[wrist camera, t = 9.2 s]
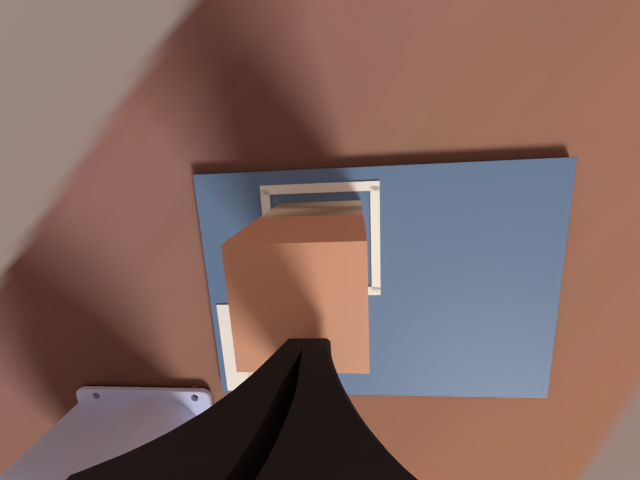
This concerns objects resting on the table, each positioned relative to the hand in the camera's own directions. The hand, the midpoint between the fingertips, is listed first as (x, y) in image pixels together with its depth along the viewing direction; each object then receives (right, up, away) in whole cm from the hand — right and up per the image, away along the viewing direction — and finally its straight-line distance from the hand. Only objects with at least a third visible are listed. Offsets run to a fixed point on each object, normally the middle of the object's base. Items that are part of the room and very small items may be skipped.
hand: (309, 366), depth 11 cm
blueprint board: (+4, +1, +10) cm, 11 cm away
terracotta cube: (0, +3, +5) cm, 5 cm away
